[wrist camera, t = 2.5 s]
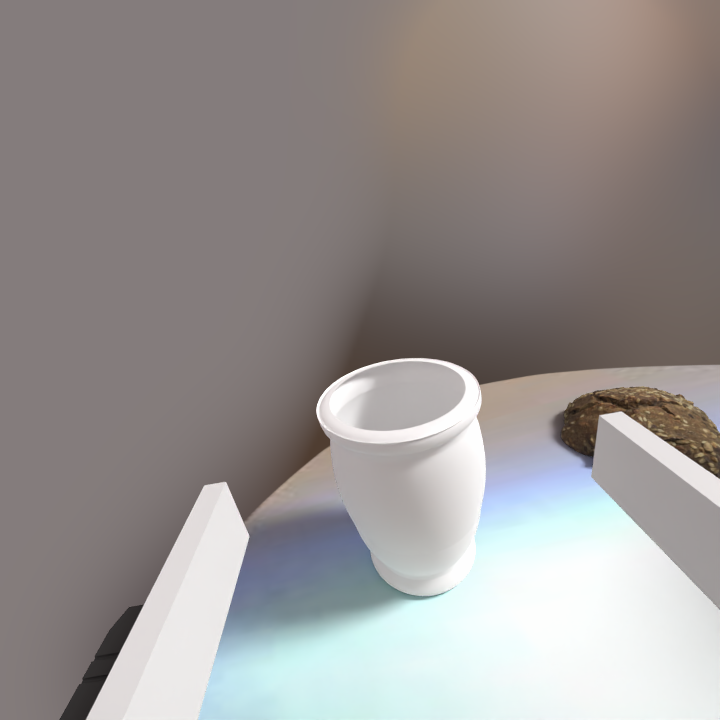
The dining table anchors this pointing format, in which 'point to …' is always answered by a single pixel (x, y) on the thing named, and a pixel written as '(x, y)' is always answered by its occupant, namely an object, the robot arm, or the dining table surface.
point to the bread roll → (646, 422)
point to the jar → (410, 467)
